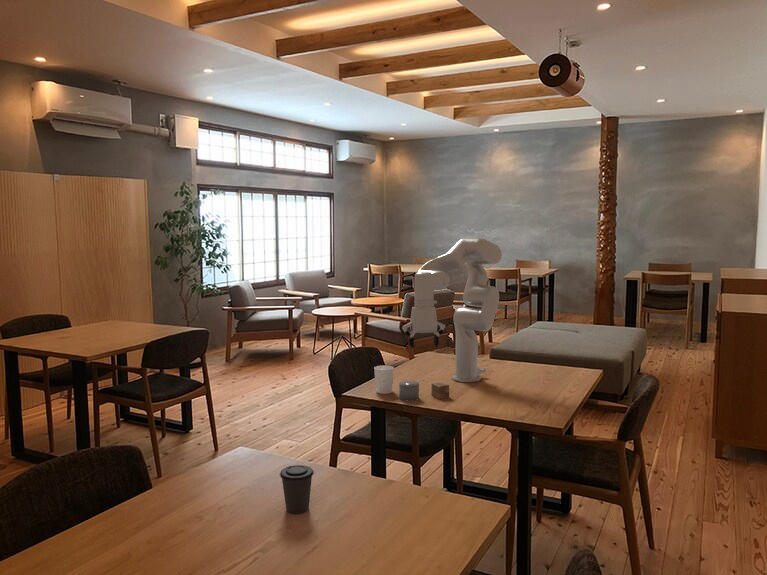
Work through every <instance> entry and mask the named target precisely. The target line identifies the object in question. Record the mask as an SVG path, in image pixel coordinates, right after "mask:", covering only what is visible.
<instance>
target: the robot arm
mask: <svg viewBox="0 0 767 575" xmlns="http://www.w3.org/2000/svg"><path fill="white" fill-rule="evenodd" d="M502 255H503V253H502V249H501V248H500V247H499V245H498V244H495V243H493V242H491V241H489V240H487V239H484V238H482V237H475V238H474V237H471V238H470V237H463V238H461V239H459V240H458V241H456V243H455V244H454V245H453V246H452V247H451V248H450V249H449V250H448V251H446V253H445V254H442V255H439V256H438V257H436V258H433V259H431V260H429V261H427V262H426V263H424V264H423V265H422V266H421V267H420V268H419V269H418V270H417V272H416V273H415V274H414V279H413V280H414V288H413V289H414V292H413V293H414V294H413V295H414V306H412V307H411V312H410V320H409V321H410V322H408V323H406V324H404V325H402V327H401V328H402V330H403V332H404V334H405V335H406V336H408V345H409V347H410V348H411V349H414V348H415V338H414V336H415V335H416V334H424V333H425V334H427V333H429V334H430V333H431V334H432V333H433V335H434V336H433V347H436V348H438V345H439V343H440V341H439V340H440V338H439V337H440V336H441V335H442V334H443V333H444V330H445V328H446V325H445V324H444V323H443V322H442V323H441V322H440V321H438V317H437V310H436V307H435V305H436V304H438V300H436V299H434V297H435V295H434V294H435V292H434V291H435V290H436V291H437V290H439V291H440V290H441V291H442V290H445V289H446V288H448V287H449V285H450V283H451V278H450V275H449V273H453V272H457V271H459V270H460V269H461V268H462V267H463V266H464V265H465V264H466V265H467V269H468V274H467V275H468V276H467V279H466V280H467V281H466V283H465V287H464V291H463V295H462V301H463V303H464V304H465V305H467V306H470V307H467V306H465V307H464V306H463V307H459V308H457V309H456V310H455V311H454V313H453V325H454V332H455V368H454V370H455V371H454V372H455V373H454V374H452V376H451V380H453V381H455V382H460V383H476V382H480V380H481V379H482V377H481V374H486V372H487V369H486V368H478V350H479V348H478V345H479V344H478V343H479V341H478V336H477V334H476V332H477V331H478V332H489V331H490V330H491V329H492V327H493V325H494V321H495V318H496V314H497V311H498V306H499V302H500V292H499V290H498V288H497V287H495V286H493V285H492V286H491V285H487V282H488V278H489V277H488V273H487V270H486V269H485V267H484V265H497V264H498V263H499V262H500V261H501V260H502ZM478 307H479V308H478ZM438 326H439V327H440V328H439V329H438ZM409 328H410V331H408V329H409Z"/></svg>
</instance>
